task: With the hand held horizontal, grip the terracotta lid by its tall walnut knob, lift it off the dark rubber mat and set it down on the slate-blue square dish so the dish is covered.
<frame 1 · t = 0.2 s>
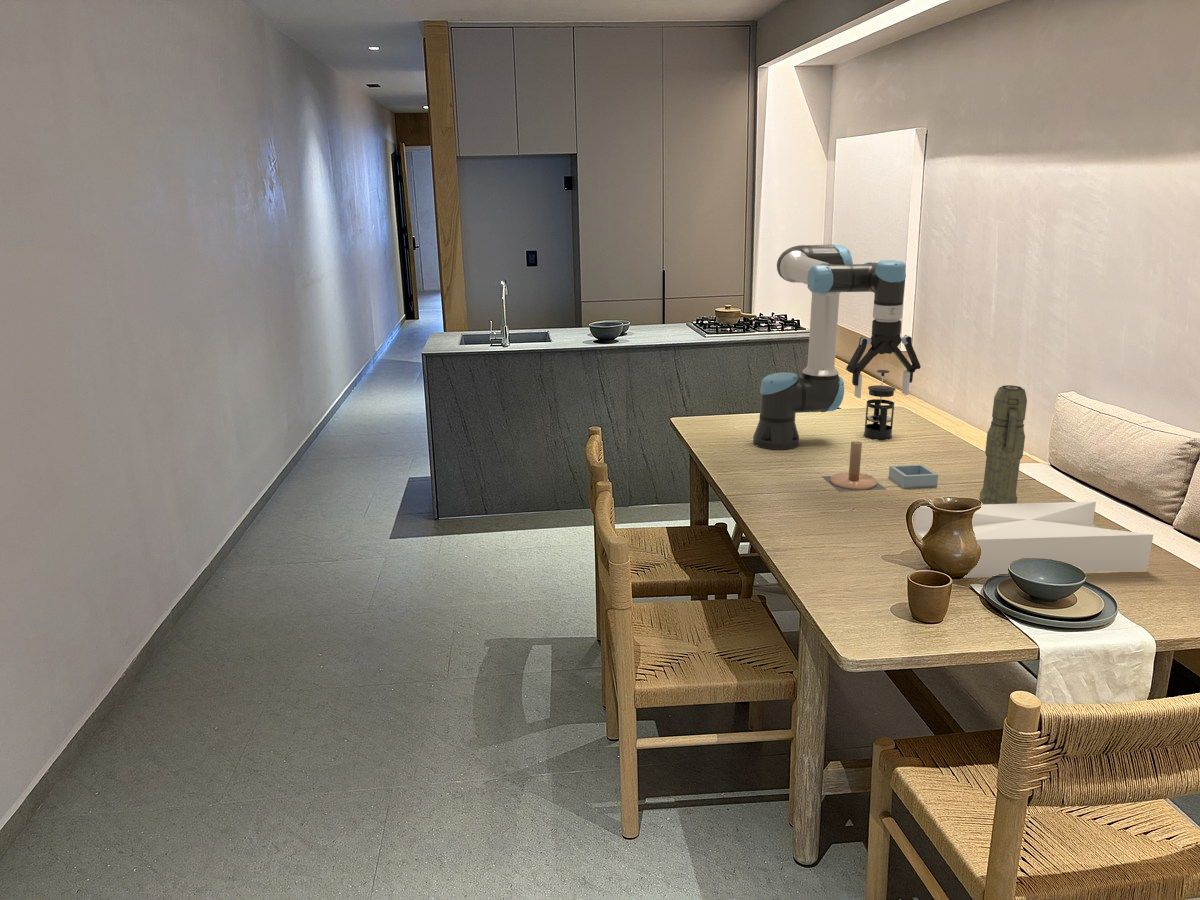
hand: (881, 395, 256), 27 cm above the table, tool pointing down, fingers open, 13 cm apart
french press: (878, 437, 315), on the table
dish: (912, 483, 267), on the table
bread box: (1024, 558, 216), on the table
lid: (853, 482, 267), resting on mat
green carved statue: (995, 520, 239), on the table
mat: (853, 483, 267), on the table
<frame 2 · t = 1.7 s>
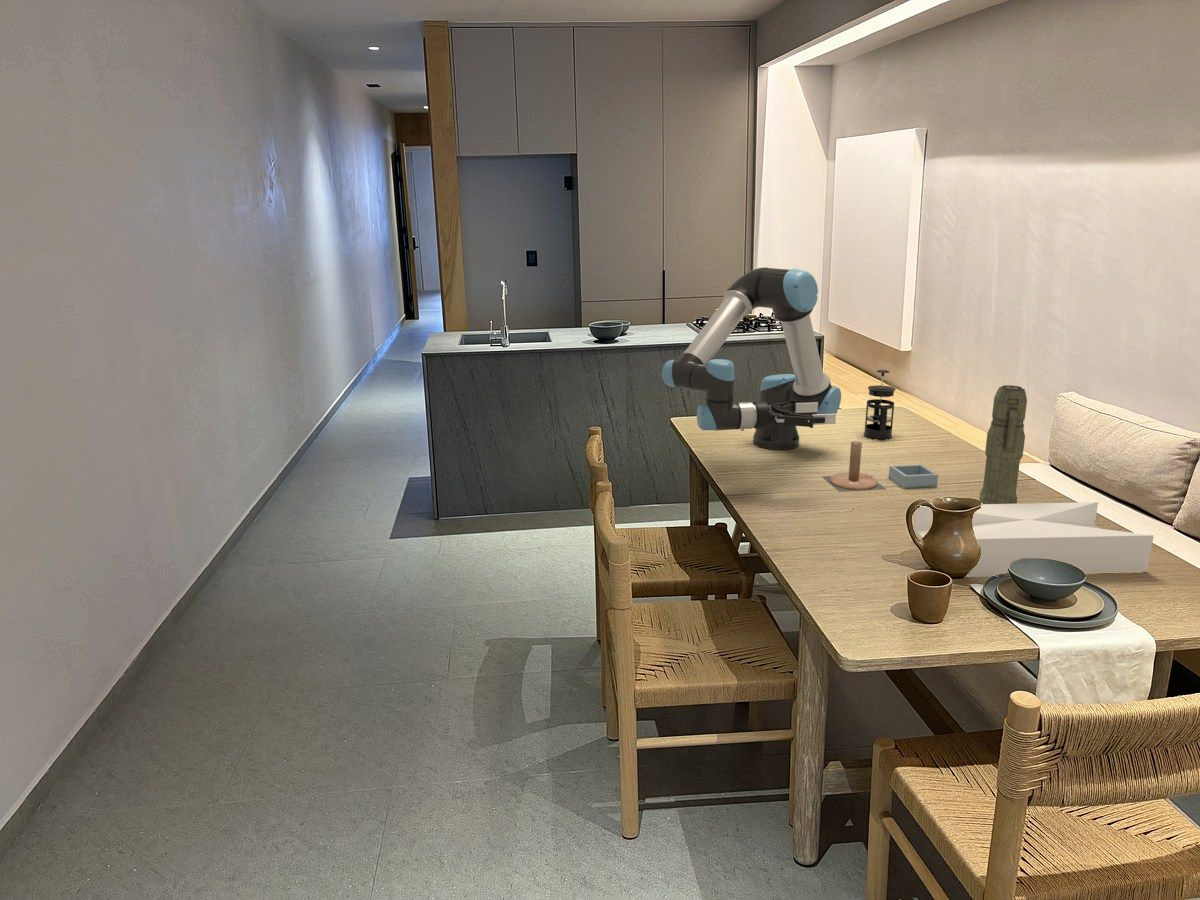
hand: (826, 412, 260), 22 cm above the table, tool horizontal, fingers open, 13 cm apart
nothing on the table moved.
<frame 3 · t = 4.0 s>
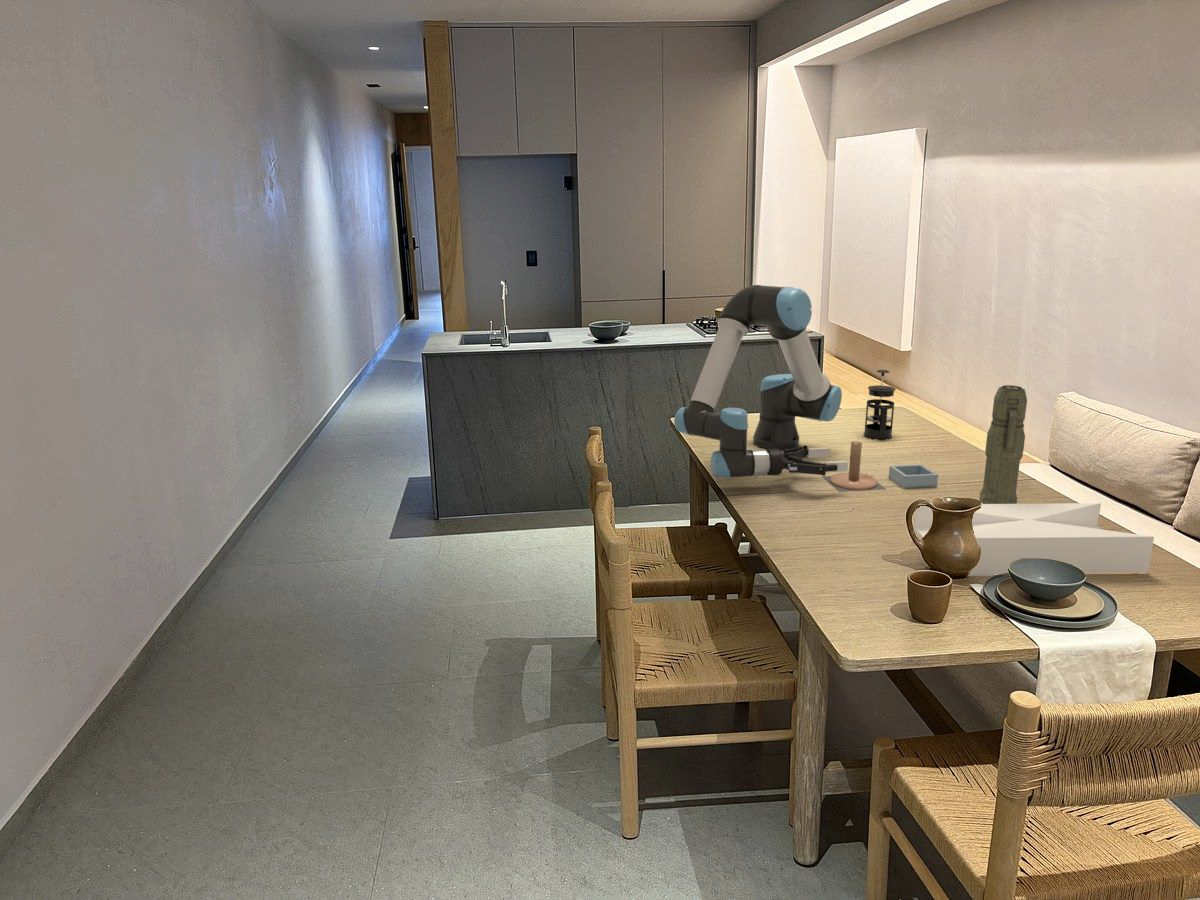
hand: (838, 459, 264), 8 cm above the table, tool horizontal, fingers open, 13 cm apart
nothing on the table moved.
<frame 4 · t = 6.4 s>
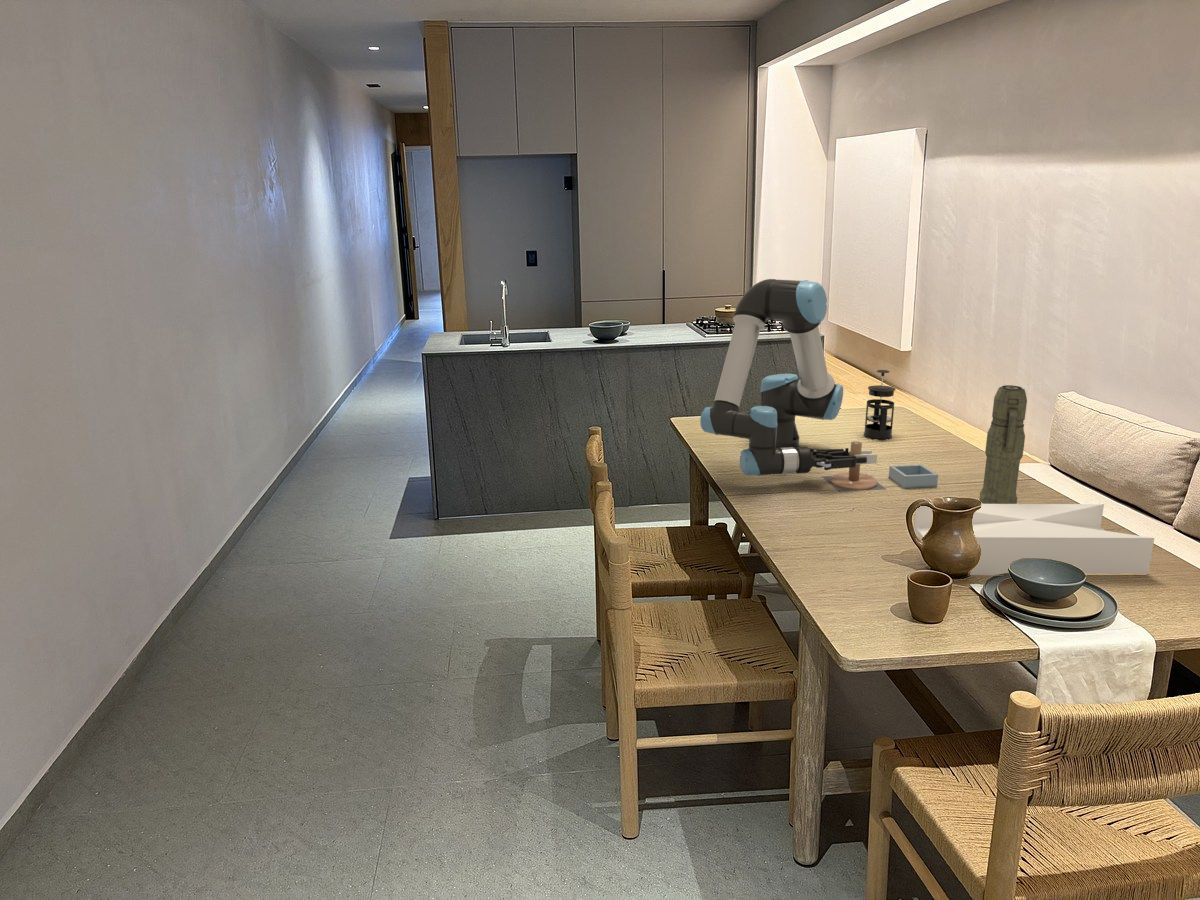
hand: (873, 456, 265), 8 cm above the table, tool horizontal, fingers closed on lid, 3 cm apart
lid: (853, 482, 267), resting on mat, touching gripper
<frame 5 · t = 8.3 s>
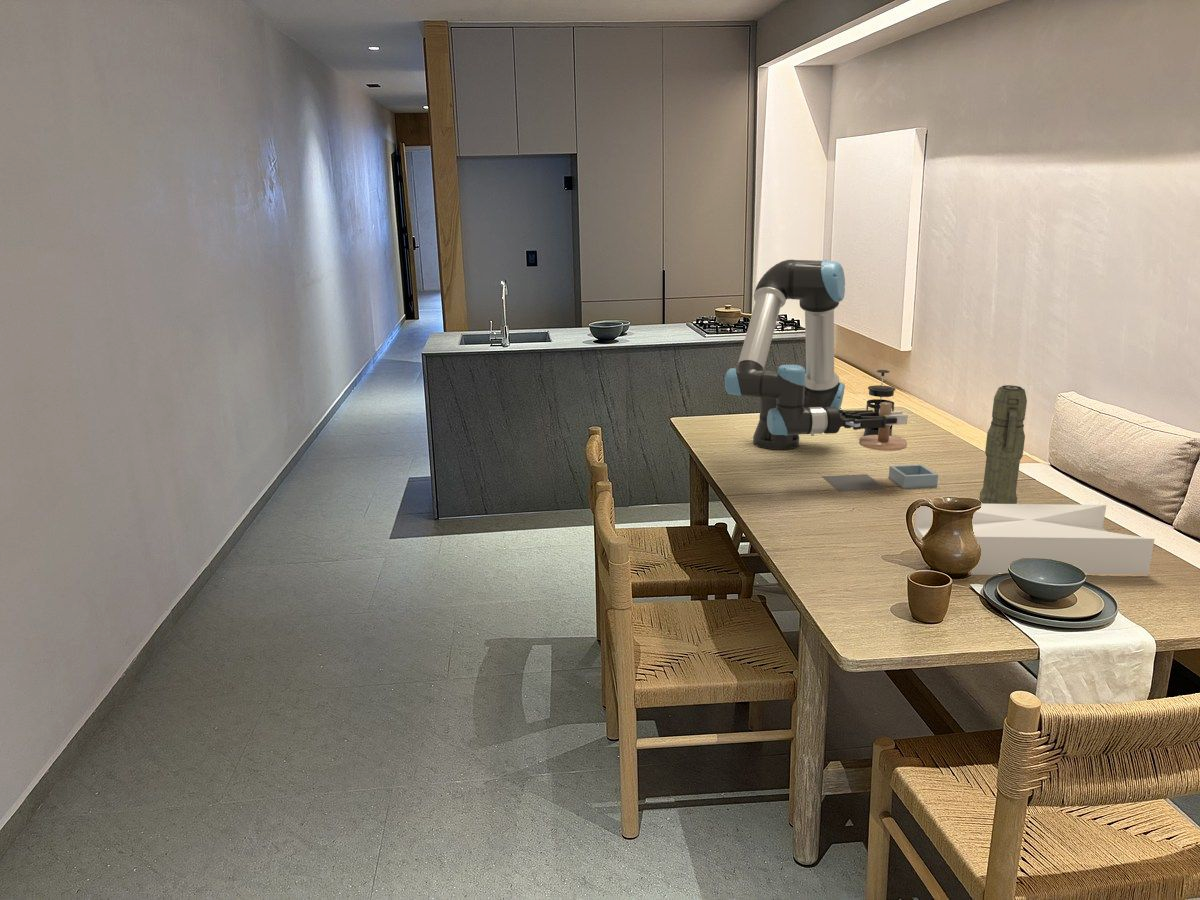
hand: (903, 417, 260), 20 cm above the table, tool horizontal, fingers closed on lid, 3 cm apart
lid: (882, 444, 262), point 12 cm above the table, touching gripper
when the fingers open (13 cm above the table, at t = 10.4 s): lid stays where it is, resting on dish.
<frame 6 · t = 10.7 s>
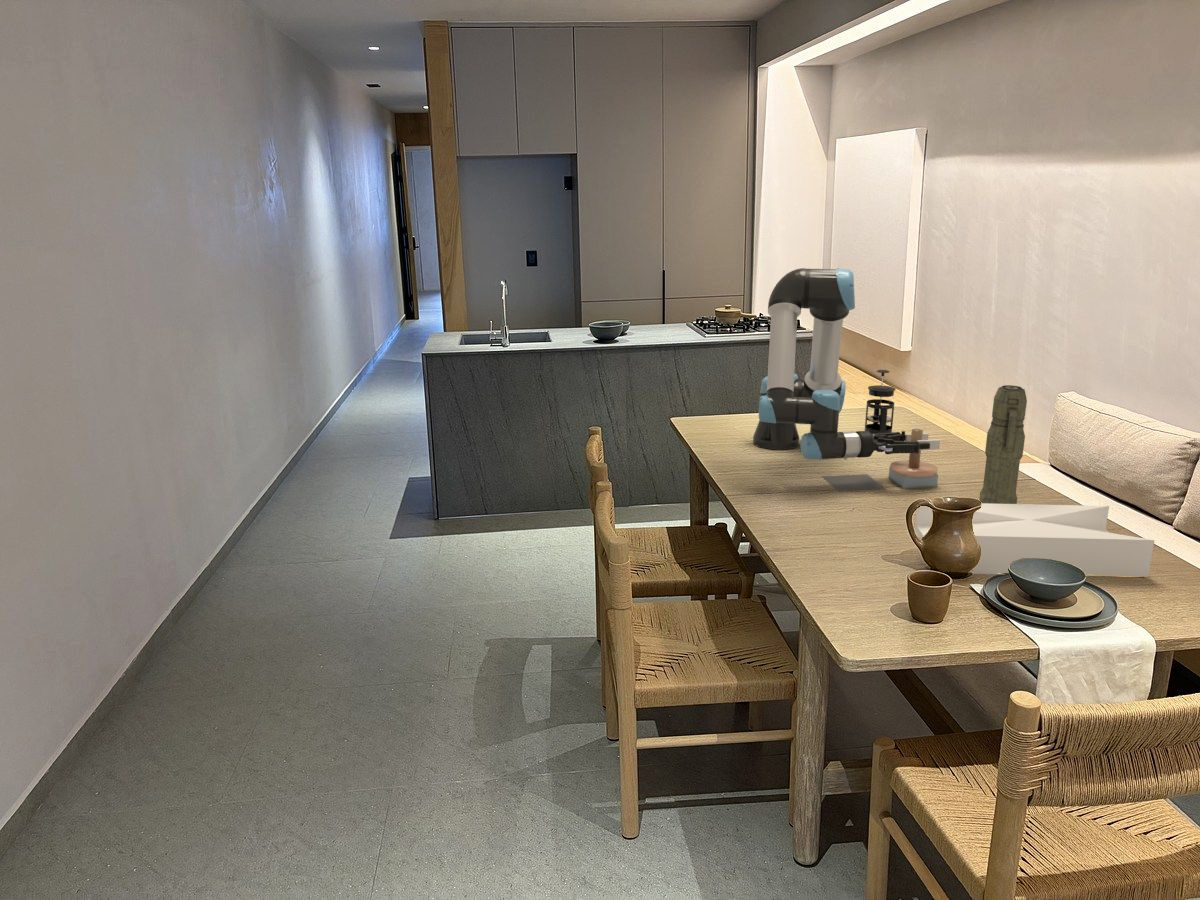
hand: (933, 441, 264), 12 cm above the table, tool horizontal, fingers open, 6 cm apart
lid: (913, 470, 266), point 4 cm above the table, touching dish
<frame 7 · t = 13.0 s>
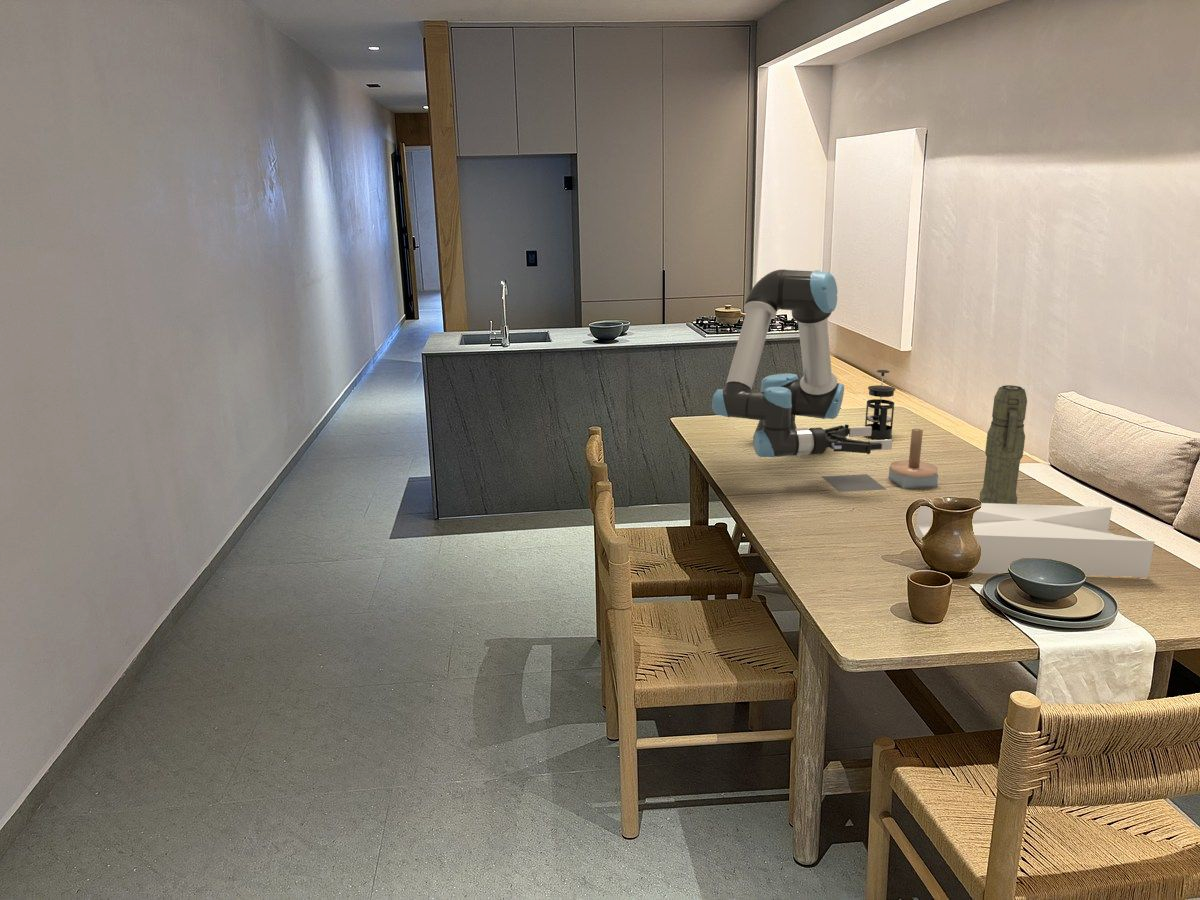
hand: (881, 437, 262), 14 cm above the table, tool horizontal, fingers open, 13 cm apart
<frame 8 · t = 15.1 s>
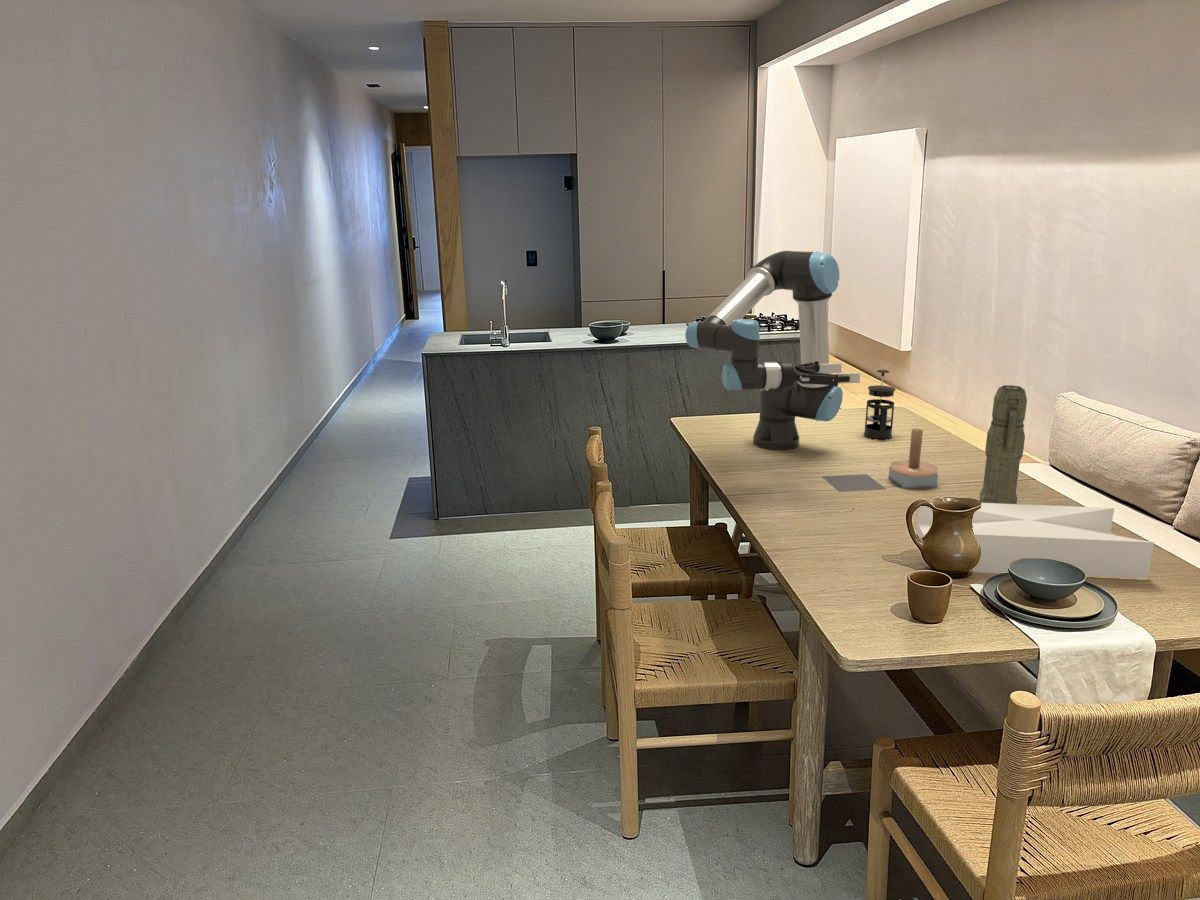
hand: (850, 372, 262), 32 cm above the table, tool horizontal, fingers open, 13 cm apart
at the end: lid 0.0 cm off-centre on the dish, point 4.0 cm above the dish's base; lid touching dish; the gripper is holding nothing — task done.
